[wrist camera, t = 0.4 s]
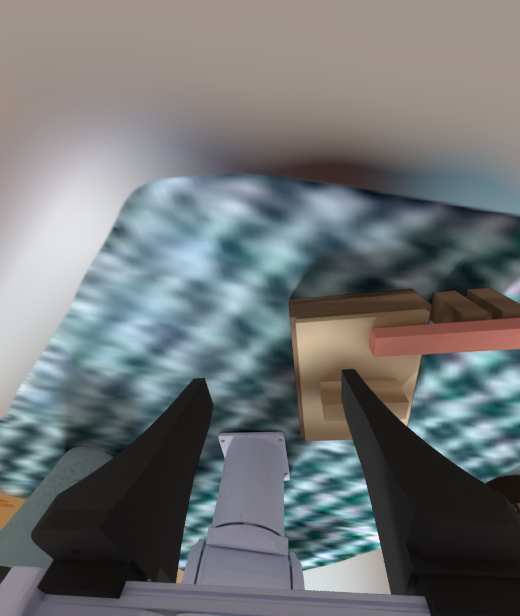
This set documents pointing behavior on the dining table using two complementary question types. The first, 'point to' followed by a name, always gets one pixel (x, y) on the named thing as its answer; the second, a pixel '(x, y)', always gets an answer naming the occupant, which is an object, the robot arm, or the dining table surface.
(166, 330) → the dining table surface
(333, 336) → the lid
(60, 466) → the grey-green cup
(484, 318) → the toolbox
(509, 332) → the pink bar
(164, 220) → the dining table surface
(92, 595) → the robot arm
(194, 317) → the dining table surface
